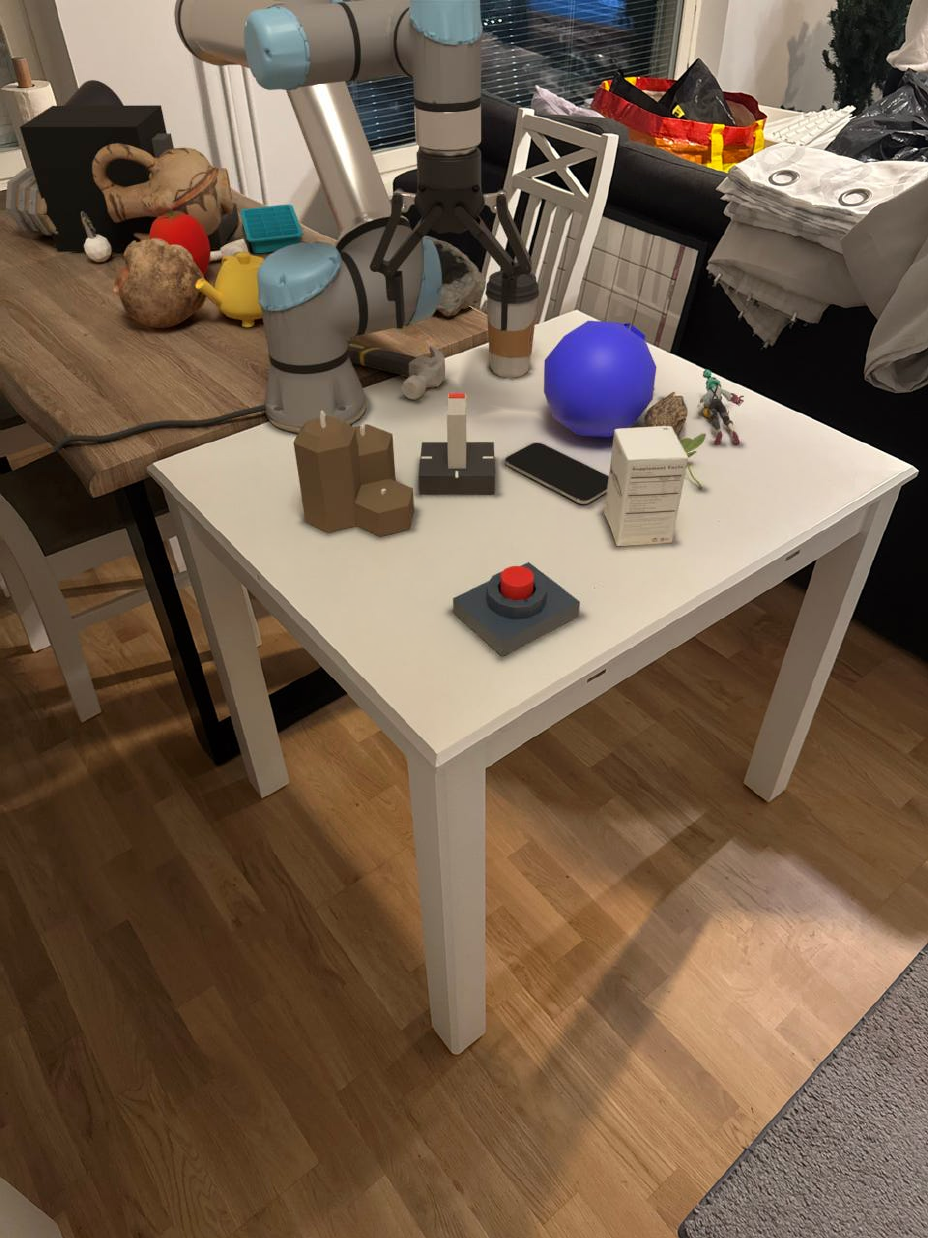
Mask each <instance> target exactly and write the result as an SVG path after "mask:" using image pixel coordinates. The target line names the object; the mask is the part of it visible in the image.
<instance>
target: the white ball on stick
mask: <svg viewBox="0 0 928 1238" xmlns="http://www.w3.org/2000/svg"><path fill="white" fill-rule="evenodd" d="M86 217H87V218H86ZM81 219H82V224H83V228H84V226H85V229H86V233H87V236H88V238H87V239H86V242H85V244H84V248H85V252H84V253H86V255H87V256H88V259H90V260H92V261H94V262H96V263H102V262H106V261H107V260H109V259H110V257H111V255H112V249H111V245H110V244H109V242H108V240H107V239H106V238H105V237H103V236H100V235H96V234H95V231H96V230H95V228H94V227H93V226H92V223H91V220H90V219H89V218H88V216H87V214H86V213H85V212H84V213H82V212H81Z"/></svg>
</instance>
